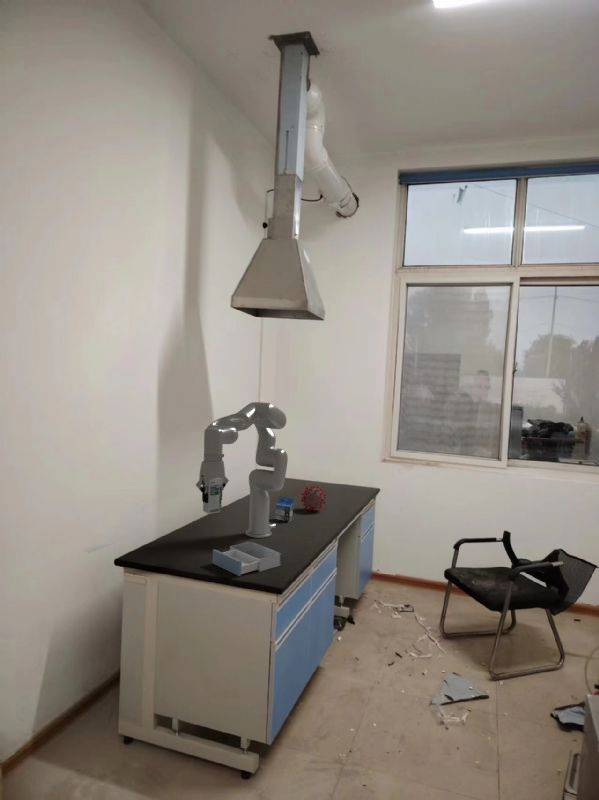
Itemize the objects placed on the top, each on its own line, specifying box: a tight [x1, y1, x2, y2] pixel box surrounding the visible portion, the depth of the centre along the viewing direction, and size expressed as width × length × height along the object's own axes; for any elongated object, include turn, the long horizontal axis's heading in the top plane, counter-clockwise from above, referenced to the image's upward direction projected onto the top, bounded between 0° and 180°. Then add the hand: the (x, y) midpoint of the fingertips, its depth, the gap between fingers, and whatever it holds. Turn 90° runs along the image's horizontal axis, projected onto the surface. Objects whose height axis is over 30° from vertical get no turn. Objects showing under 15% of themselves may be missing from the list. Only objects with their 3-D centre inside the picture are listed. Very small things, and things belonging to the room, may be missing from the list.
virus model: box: [300, 484, 327, 512], centre depth 297 cm, size 14×15×15 cm
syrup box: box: [202, 478, 223, 515], centre depth 210 cm, size 6×6×14 cm
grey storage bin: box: [229, 540, 282, 573], centre depth 209 cm, size 11×19×5 cm, turn 45°
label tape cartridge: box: [274, 495, 294, 523], centre depth 273 cm, size 9×4×12 cm, turn 62°
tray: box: [212, 549, 259, 577], centre depth 202 cm, size 11×17×5 cm, turn 45°
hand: (212, 500), depth 210 cm, fingers closed on syrup box, 6 cm apart
